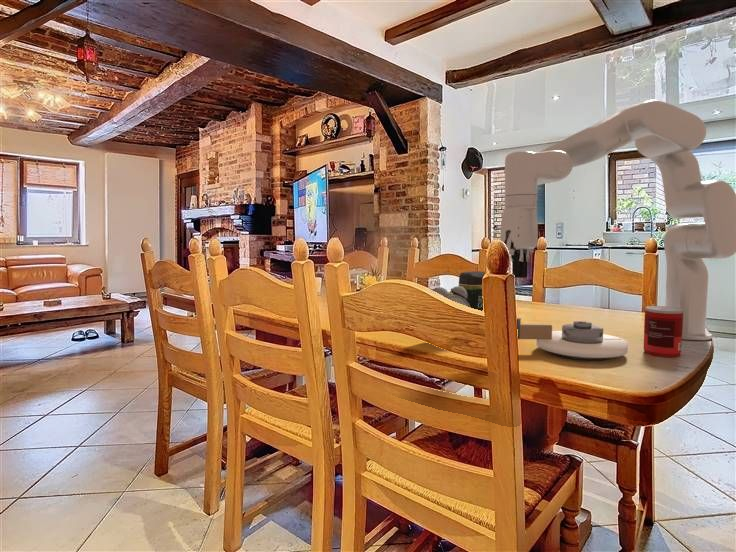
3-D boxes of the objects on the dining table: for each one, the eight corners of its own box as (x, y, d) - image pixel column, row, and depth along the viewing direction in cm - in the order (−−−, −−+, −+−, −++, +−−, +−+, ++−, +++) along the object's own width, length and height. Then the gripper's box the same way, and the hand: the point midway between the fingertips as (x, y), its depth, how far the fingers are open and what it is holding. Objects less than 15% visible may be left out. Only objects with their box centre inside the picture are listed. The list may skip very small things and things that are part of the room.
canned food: (669, 349, 112) (671, 305, 111) (688, 358, 104) (691, 311, 103) (636, 349, 113) (638, 305, 112) (653, 357, 105) (655, 310, 104)
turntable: (501, 337, 121) (502, 311, 120) (605, 338, 119) (605, 312, 118) (520, 356, 101) (520, 326, 101) (644, 358, 99) (646, 326, 98)
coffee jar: (471, 338, 126) (471, 272, 125) (453, 333, 133) (453, 271, 132) (497, 335, 131) (498, 271, 129) (478, 330, 138) (479, 269, 136)
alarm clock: (434, 345, 119) (434, 288, 118) (423, 339, 126) (423, 286, 124) (472, 341, 123) (473, 286, 122) (459, 336, 129) (459, 284, 128)
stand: (566, 343, 120) (566, 339, 119) (622, 353, 109) (623, 349, 109) (538, 351, 111) (538, 348, 111) (596, 363, 100) (596, 359, 100)
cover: (556, 335, 114) (557, 318, 113) (593, 335, 113) (594, 318, 112) (569, 343, 105) (569, 325, 104) (609, 344, 104) (610, 325, 103)
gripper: (523, 205, 119) (523, 274, 120) (489, 203, 109) (489, 278, 111) (550, 203, 113) (549, 276, 114) (516, 201, 103) (515, 280, 105)
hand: (519, 277), depth 113 cm, fingers closed
